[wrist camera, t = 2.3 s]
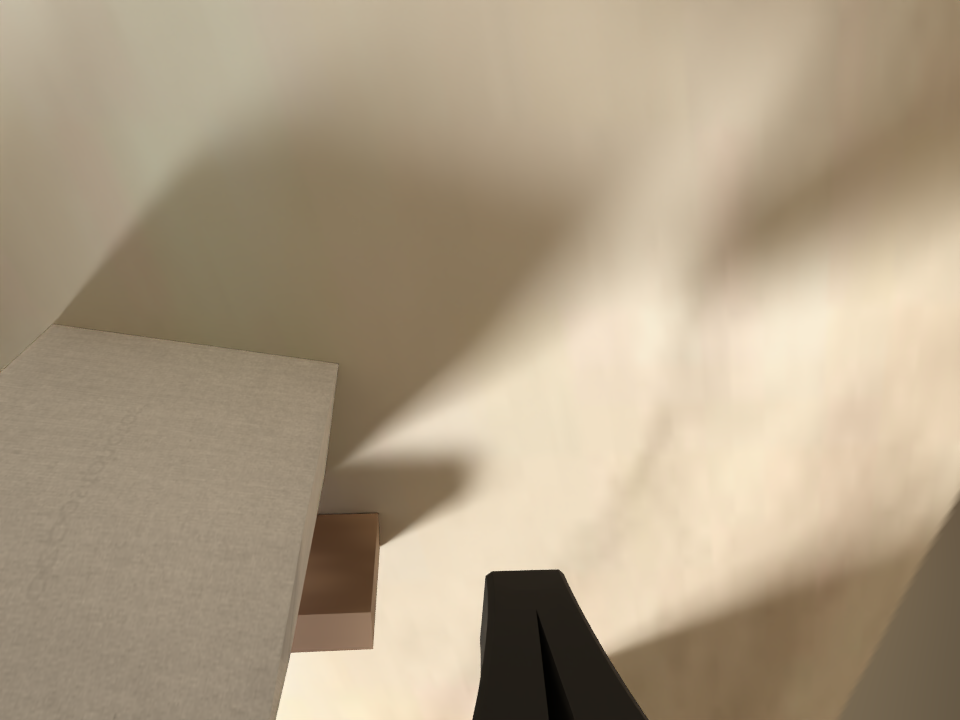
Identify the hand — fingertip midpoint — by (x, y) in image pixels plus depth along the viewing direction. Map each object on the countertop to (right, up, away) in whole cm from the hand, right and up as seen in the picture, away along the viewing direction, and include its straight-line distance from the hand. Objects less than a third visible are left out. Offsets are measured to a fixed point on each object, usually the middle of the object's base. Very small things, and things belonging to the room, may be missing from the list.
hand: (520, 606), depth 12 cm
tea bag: (-8, +3, +5) cm, 10 cm away
